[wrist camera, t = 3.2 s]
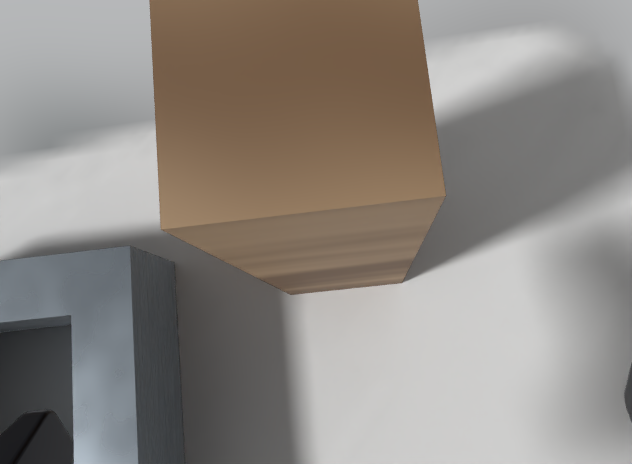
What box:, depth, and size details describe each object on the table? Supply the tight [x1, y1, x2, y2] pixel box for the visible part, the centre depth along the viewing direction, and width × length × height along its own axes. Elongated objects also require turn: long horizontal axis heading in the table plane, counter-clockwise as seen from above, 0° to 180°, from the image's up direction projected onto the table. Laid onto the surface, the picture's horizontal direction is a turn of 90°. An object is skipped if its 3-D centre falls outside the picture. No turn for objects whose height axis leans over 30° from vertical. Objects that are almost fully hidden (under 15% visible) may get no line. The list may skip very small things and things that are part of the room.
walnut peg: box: [150, 0, 446, 295], centre depth 15 cm, size 4×4×13 cm
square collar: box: [0, 246, 185, 464], centre depth 19 cm, size 9×9×4 cm
